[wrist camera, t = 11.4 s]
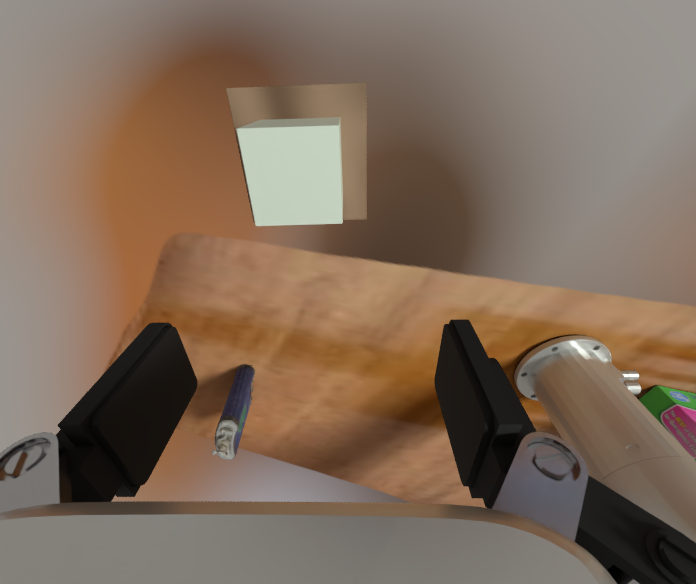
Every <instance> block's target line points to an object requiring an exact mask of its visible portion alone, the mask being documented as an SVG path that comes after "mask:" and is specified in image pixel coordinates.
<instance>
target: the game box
mask: <svg viewBox="0 0 696 584" xmlns="http://www.w3.org/2000/svg"><path fill="white" fill-rule="evenodd" d="M638 400H639V401H640V402H641V403H642V404H643V405H644V406H645V407H646V408H647V410H648V411H649V412H650V413H651V414H652V415H653V416H654V417H655V418H656V419H657V420H658V421H659V422H660V423H661V424H662V425H663V427H664V428H665V429H666V430H667V431H668V432H669V433H670V434H671V435H672V436H673V437H674V438H675V439H676V440H677V441H678V442H679V444H680V445H681V446H682V447H683V448H684V449H685V450H686V451H687V452H688V453H689V454H690V455H691V456H692V457H693V458H694V459H695V461H696V394H695V393H690V392H685V391H681V390H676V389H672V388H667V387H663V386H658V385H656V386H655V387H653V388H652V389H651V390H650V391H648V392H647V393H646V394H645V395H644V396H642V397H641V398H640V399H638Z"/></svg>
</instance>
